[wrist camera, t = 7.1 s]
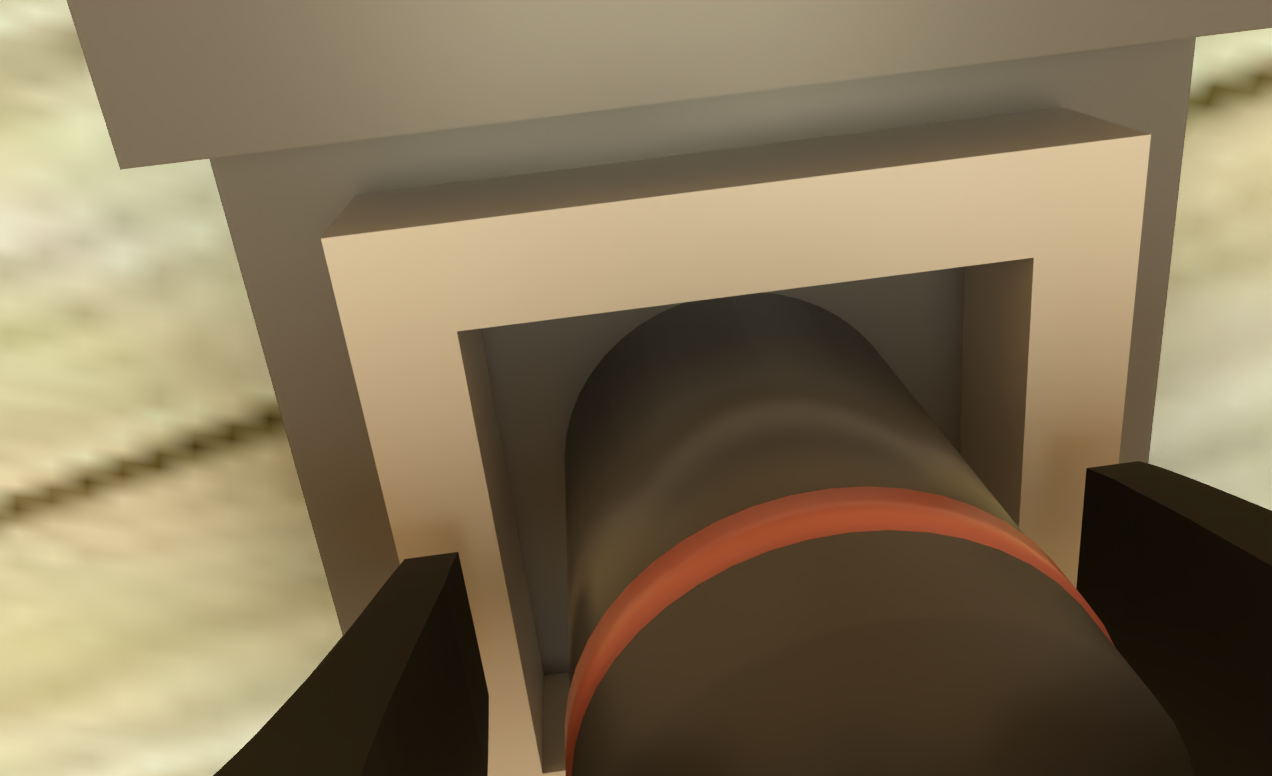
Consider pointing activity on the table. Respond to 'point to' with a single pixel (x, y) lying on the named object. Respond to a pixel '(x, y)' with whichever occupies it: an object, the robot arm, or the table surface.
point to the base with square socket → (661, 240)
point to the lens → (814, 576)
